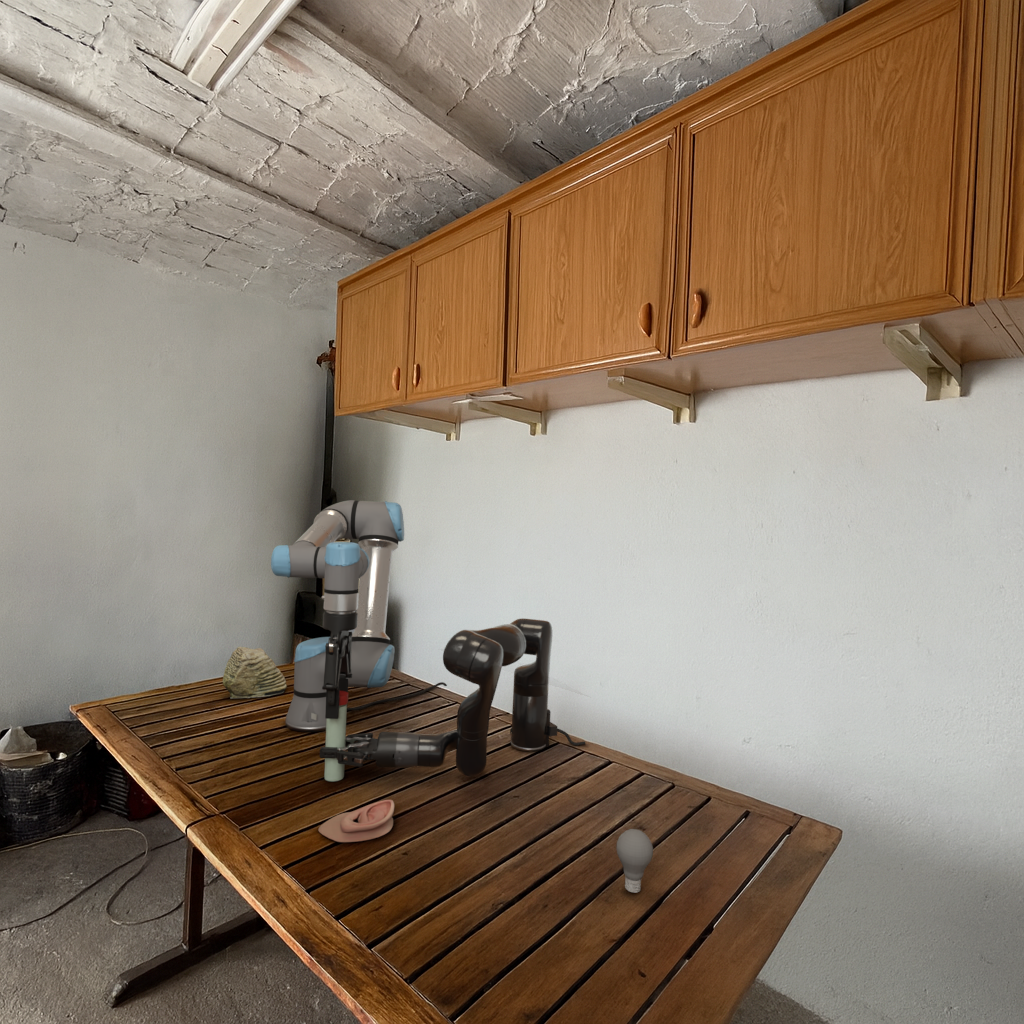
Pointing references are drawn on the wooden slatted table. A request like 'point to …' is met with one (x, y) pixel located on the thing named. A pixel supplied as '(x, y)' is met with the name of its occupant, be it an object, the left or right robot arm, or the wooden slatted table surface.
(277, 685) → the fossil
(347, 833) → the anatomical model
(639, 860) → the light bulb
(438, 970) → the wooden slatted table surface
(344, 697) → the lid
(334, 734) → the pale green slim bottle
